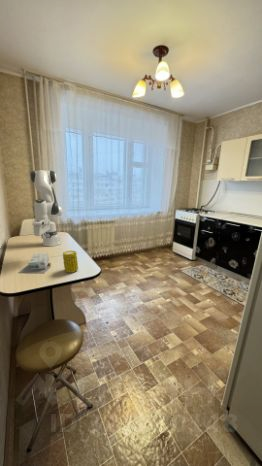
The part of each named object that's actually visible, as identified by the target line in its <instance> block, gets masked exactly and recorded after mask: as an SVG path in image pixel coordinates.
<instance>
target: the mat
mask: <svg viewBox="0 0 262 466" xmlns="http://www.w3.org/2000/svg"><path fill="white" fill-rule="evenodd" d="M51 267H52V265H51V266H47V267H46V269H33V270H31V267H30V265H29V264H28V265H26V266H24V267H23V268H22V269H21V270H20V271H18V272H17V273H18V274H45V273H46V272H47V271H49V269H50V268H51Z"/></svg>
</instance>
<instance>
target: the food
mask: <svg viewBox="0 0 262 466" xmlns="http://www.w3.org/2000/svg"><path fill="white" fill-rule="evenodd" d="M62 260H63V267H64V271H65V273H69V274H70V273H75V272H77V271H78V270H79V263H78V255H77V251H76V250H66V251H63V252H62Z"/></svg>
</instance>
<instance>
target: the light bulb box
mask: <svg viewBox="0 0 262 466" xmlns="http://www.w3.org/2000/svg"><path fill="white" fill-rule="evenodd" d="M28 263H29V264H30V267H31V270H33V269H46V267H47V265H48V263H50V256H49V253H48V252H47V253H45V252H44V253H33V255H32V256H31V258H30V260H29V262H28ZM29 264H28V265H29Z"/></svg>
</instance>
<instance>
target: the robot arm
mask: <svg viewBox="0 0 262 466" xmlns="http://www.w3.org/2000/svg"><path fill="white" fill-rule="evenodd" d="M29 173H30V174H29V177H30V181H31V182H32V183H34V187H35V189H36V190H37V191H38V192H39V193H40V198H38V199H35V200H34V202H33V203H34V204H33V205H32V206H33V207H32V208H33V214H34V216H35V217H34V220H33V222H32V226H33V227H32V228H33V229H32V230H33V234H34V236H36V237H41V239H42V243H41V245H43V246H44V247H56V246H61V245H62V244H63V241H64V240H63V239H61V235H59V234H58V232H59V230H58V229H57V226H56V225H57V224H56V222H55V221H53V220H51V219H49V218H57V217H60V216H62V214H63V208H62V207H61V206H60V205H59V203H58V201H57V200H58V199H57V196H56V193H55V190H54V187H53V184H54V183H56V181H57V177H58V176H57V174H56V172H55V171H54V170H46V169H45V170H43V169H39V170H32V171H31V172H29Z"/></svg>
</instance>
